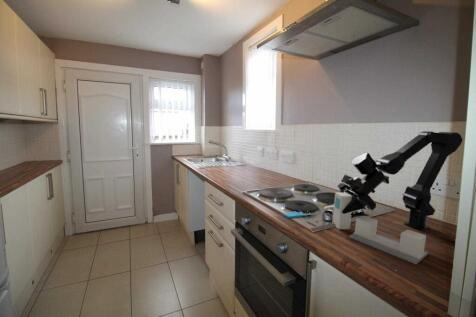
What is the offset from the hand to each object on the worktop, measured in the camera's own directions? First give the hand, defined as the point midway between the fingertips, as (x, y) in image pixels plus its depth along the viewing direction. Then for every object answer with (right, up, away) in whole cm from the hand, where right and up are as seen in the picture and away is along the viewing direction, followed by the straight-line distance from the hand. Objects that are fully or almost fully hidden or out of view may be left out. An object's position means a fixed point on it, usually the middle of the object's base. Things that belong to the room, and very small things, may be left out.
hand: (339, 210), depth 93 cm
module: (+1, -7, +1) cm, 7 cm away
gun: (+9, -5, +17) cm, 20 cm away
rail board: (+10, -9, -13) cm, 19 cm away
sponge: (-14, -5, +12) cm, 19 cm away
